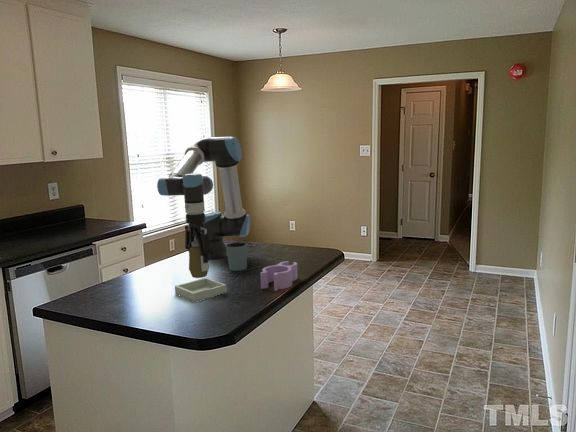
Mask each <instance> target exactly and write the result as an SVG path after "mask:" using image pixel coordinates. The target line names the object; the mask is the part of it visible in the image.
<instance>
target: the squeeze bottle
mask: <svg viewBox="0 0 576 432" xmlns="http://www.w3.org/2000/svg"><path fill="white" fill-rule="evenodd" d="M191 245H192V247H191V248H190V249H189V251H188V257H189V259H188V261H189V262H188V270H189V273H190V274H191V277H192V278H194V279H202V278H207V276H208V272H209V268H210V264H209V263H208V270H207V271H202V269H201V254H202V253H201V250H200V246H199V243H198V240H197V239H196V237H194V241H192V242H191Z"/></svg>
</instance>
